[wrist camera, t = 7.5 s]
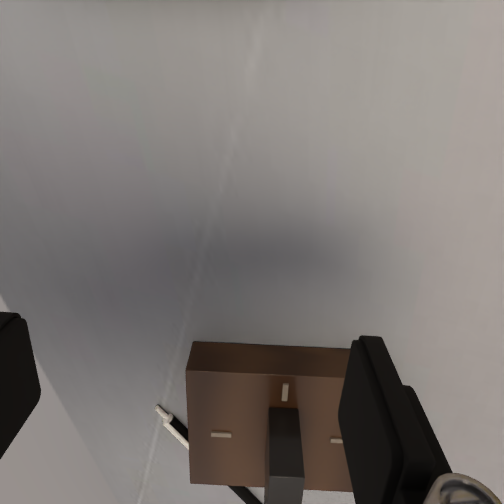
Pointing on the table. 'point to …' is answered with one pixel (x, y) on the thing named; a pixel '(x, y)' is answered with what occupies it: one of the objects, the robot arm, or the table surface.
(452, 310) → the table surface
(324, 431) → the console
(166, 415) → the pen
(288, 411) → the dial knob
